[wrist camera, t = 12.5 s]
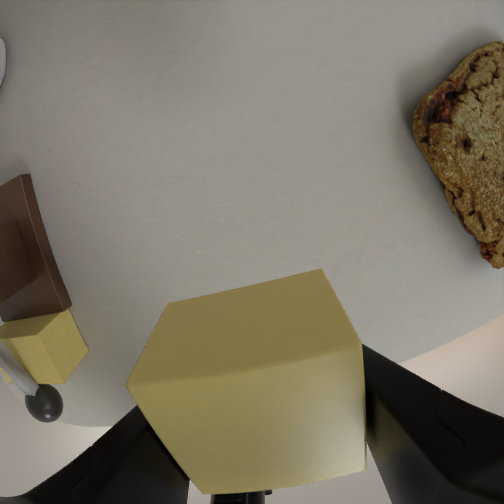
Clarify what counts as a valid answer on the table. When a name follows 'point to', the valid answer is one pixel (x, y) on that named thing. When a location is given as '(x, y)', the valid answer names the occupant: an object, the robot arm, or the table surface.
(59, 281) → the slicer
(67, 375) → the butter
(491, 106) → the pastry
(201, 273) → the table surface
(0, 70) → the can
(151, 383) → the butter pat
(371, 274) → the table surface
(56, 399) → the blade
